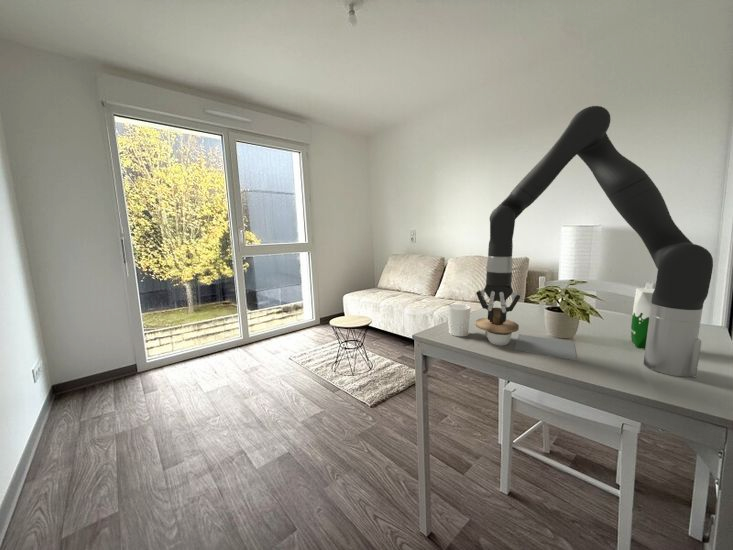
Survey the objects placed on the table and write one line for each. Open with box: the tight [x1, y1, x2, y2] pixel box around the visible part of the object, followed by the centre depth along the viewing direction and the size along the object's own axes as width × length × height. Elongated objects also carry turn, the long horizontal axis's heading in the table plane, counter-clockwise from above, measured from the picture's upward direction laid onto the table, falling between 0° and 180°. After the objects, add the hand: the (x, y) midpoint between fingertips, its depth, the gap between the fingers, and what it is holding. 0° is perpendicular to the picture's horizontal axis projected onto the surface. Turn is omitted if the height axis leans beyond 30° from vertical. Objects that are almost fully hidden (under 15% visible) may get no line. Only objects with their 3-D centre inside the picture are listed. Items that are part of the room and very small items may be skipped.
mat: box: [513, 333, 578, 362], centre depth 95 cm, size 16×16×1 cm
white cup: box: [447, 303, 472, 337], centre depth 108 cm, size 8×8×10 cm
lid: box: [475, 307, 520, 333], centre depth 98 cm, size 13×13×6 cm
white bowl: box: [484, 330, 513, 346], centre depth 98 cm, size 10×10×5 cm
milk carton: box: [630, 287, 655, 349], centre depth 93 cm, size 9×9×20 cm
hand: (496, 321), depth 98 cm, fingers closed on lid, 2 cm apart
